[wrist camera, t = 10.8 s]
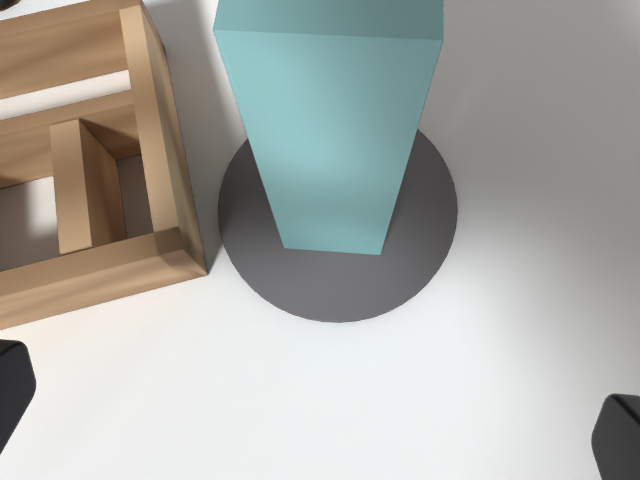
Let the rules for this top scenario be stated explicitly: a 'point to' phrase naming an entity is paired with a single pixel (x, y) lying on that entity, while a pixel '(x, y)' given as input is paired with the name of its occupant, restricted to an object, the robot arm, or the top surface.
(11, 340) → the robot arm
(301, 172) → the tall teal pillar
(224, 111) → the top surface
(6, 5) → the flask
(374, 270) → the disc
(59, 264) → the box
